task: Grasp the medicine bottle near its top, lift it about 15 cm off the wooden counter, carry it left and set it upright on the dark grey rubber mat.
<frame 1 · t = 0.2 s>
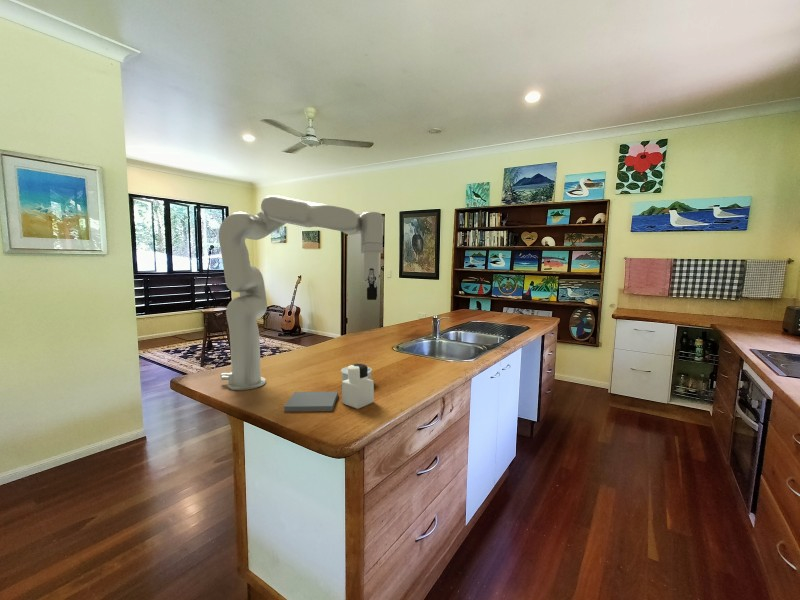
hand: (372, 298, 125), 31 cm above the worktop, tool pointing down, fingers open, 9 cm apart
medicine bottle: (358, 403, 111), on the worktop
ramekin: (356, 384, 128), on the worktop
rubber mat: (312, 403, 110), on the worktop
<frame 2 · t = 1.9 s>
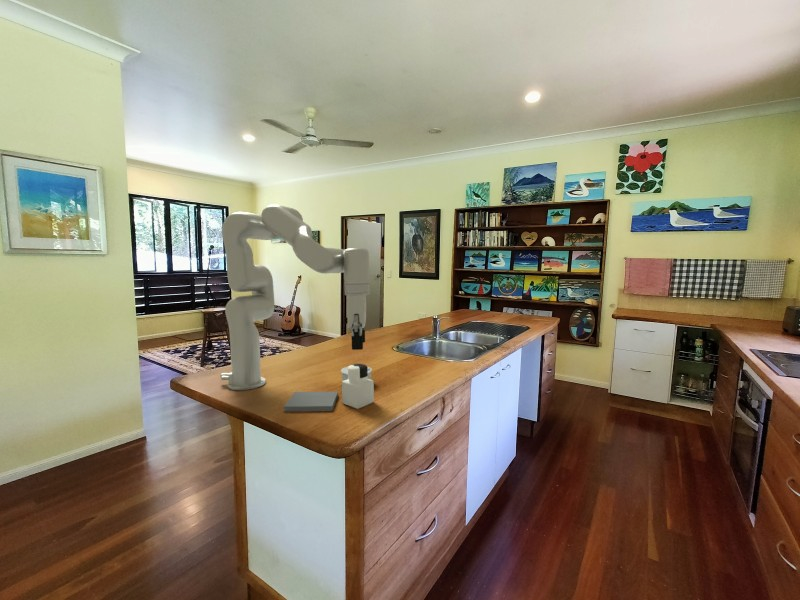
hand: (358, 345, 109), 18 cm above the worktop, tool pointing down, fingers open, 9 cm apart
nothing on the worktop moved.
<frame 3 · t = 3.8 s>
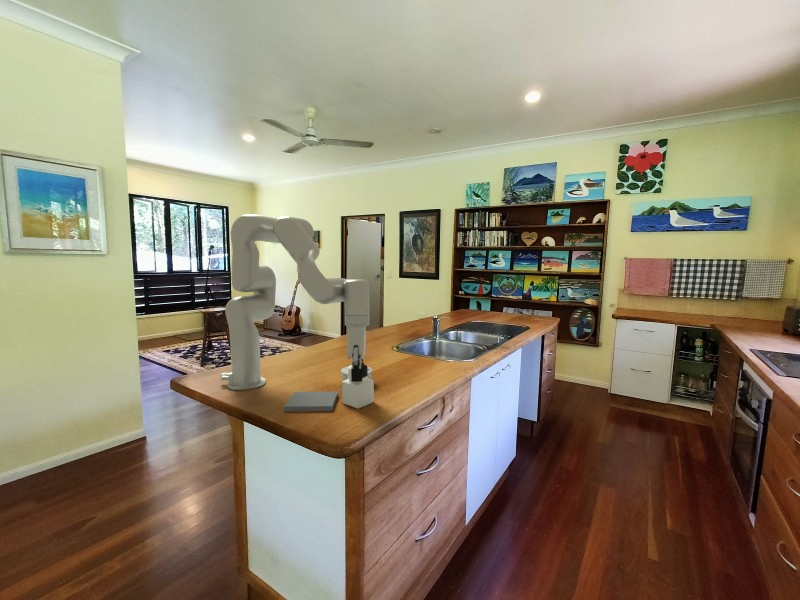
hand: (357, 377, 110), 8 cm above the worktop, tool pointing down, fingers closed on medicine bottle, 6 cm apart
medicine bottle: (358, 403, 111), on the worktop, touching gripper
everything else where it was.
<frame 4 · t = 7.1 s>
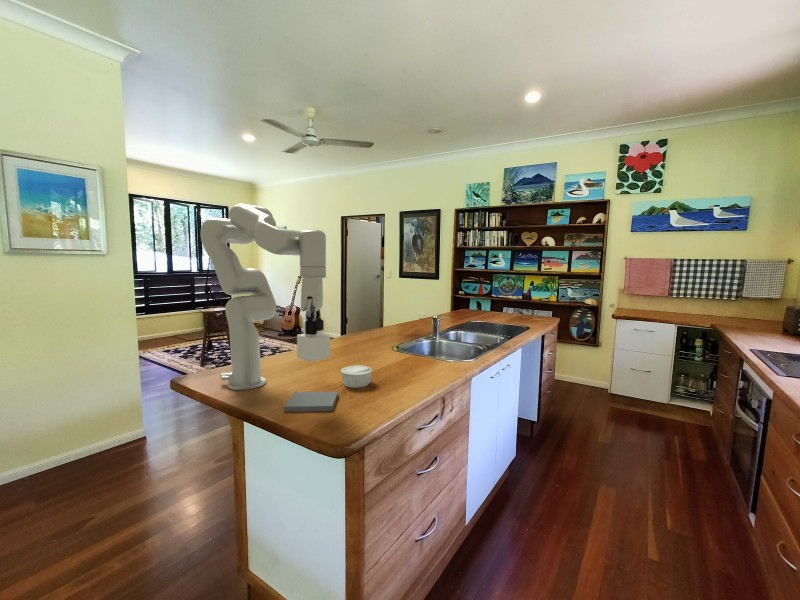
hand: (313, 331, 108), 22 cm above the worktop, tool pointing down, fingers closed on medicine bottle, 6 cm apart
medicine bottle: (313, 358, 109), point 14 cm above the worktop, touching gripper
everything else where it was.
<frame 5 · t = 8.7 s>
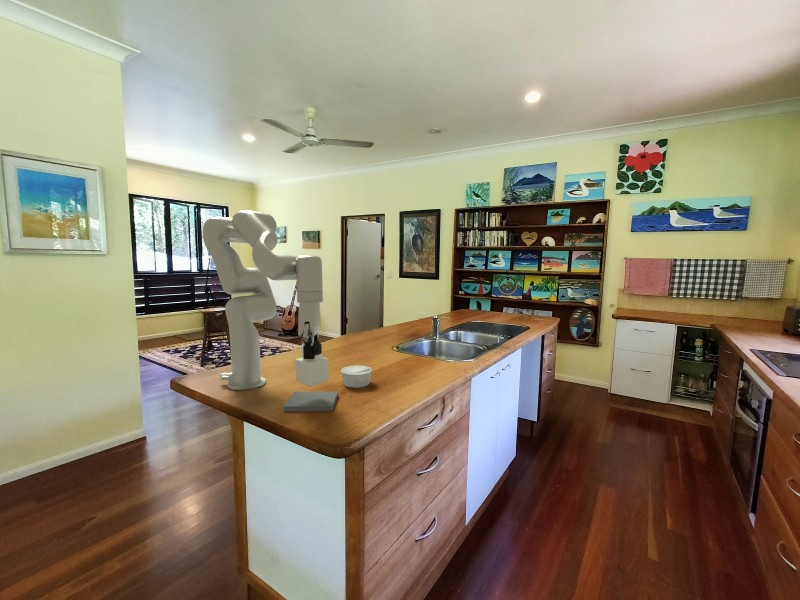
hand: (311, 355, 109), 15 cm above the worktop, tool pointing down, fingers closed on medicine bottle, 6 cm apart
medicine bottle: (312, 381, 109), point 7 cm above the worktop, touching gripper
everything else where it was.
when the fingers open (11 cm above the worktop, at t = 10.4 s): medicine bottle drops 1 cm, resting on rubber mat.
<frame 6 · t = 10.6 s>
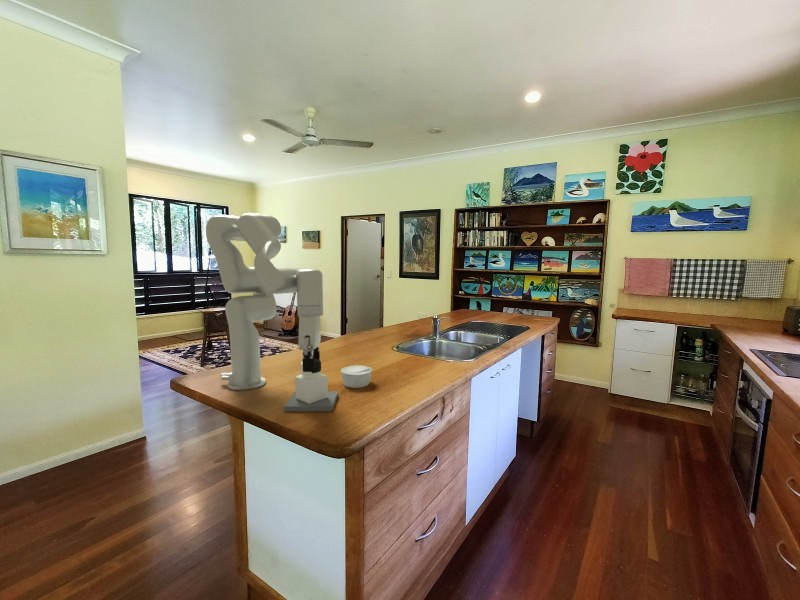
hand: (311, 367, 109), 11 cm above the worktop, tool pointing down, fingers open, 8 cm apart
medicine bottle: (311, 398, 110), point 1 cm above the worktop, touching rubber mat
everything else where it was.
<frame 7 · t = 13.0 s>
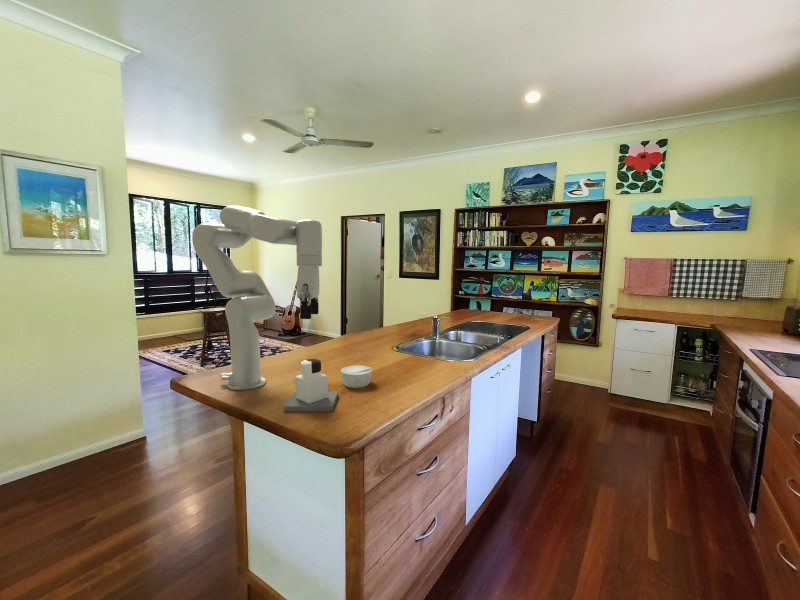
hand: (309, 316, 111), 27 cm above the worktop, tool pointing down, fingers open, 9 cm apart
nothing on the worktop moved.
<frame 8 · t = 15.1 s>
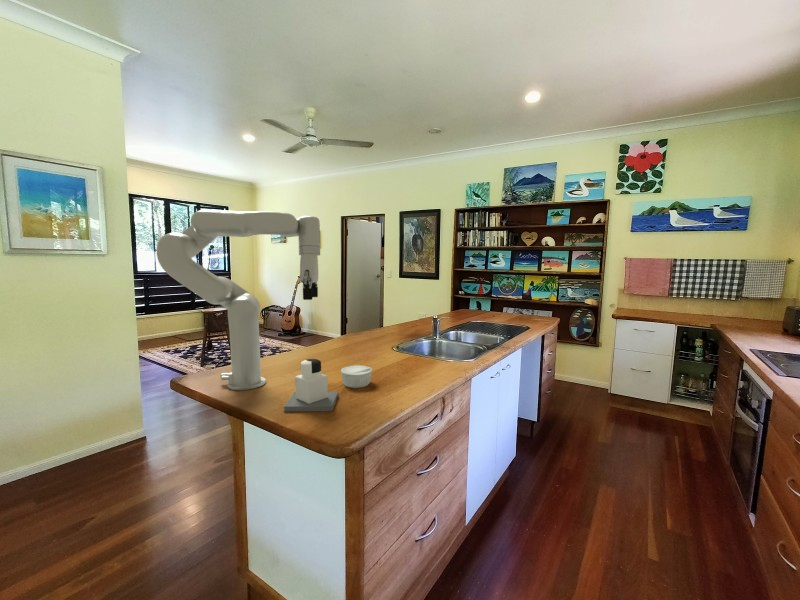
hand: (310, 298, 131), 30 cm above the worktop, tool pointing down, fingers open, 9 cm apart
nothing on the worktop moved.
at the end: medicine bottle inside the target area on the rubber mat (0.4 cm from its centre), point 1.3 cm above the rubber mat's base; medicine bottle tilted 0°; the gripper is holding nothing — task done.
